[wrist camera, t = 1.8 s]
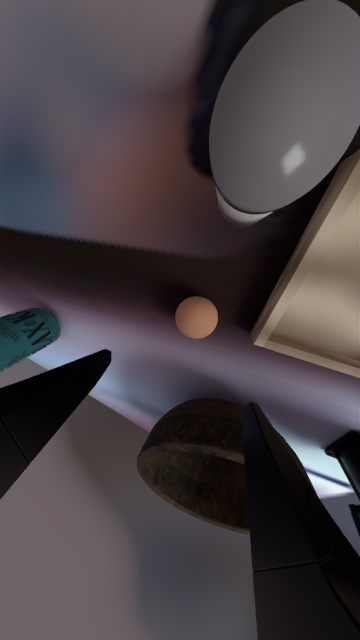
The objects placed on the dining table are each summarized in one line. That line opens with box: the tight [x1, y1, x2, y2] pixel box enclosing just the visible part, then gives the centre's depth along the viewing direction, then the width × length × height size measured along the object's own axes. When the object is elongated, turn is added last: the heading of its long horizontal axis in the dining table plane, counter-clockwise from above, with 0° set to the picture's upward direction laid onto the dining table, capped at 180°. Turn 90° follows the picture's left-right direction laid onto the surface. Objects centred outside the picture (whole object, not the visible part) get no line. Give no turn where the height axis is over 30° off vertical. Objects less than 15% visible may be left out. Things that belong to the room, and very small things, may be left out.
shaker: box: [209, 0, 360, 227], centre depth 10 cm, size 5×5×9 cm
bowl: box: [137, 399, 316, 535], centre depth 23 cm, size 22×22×10 cm
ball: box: [175, 296, 218, 339], centre depth 18 cm, size 5×5×5 cm
